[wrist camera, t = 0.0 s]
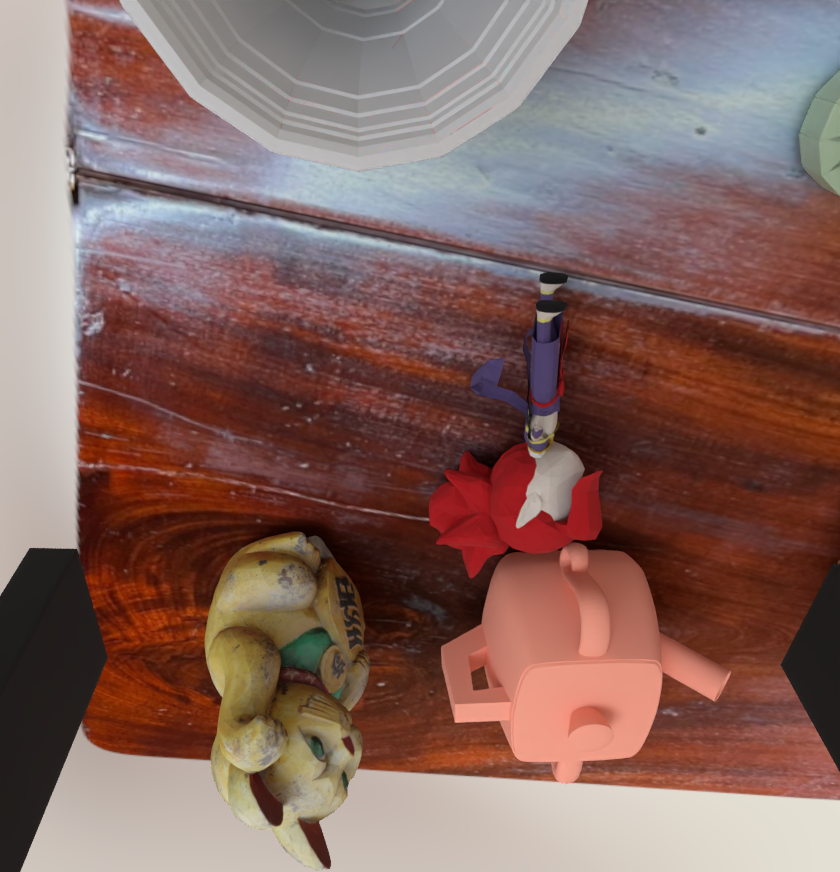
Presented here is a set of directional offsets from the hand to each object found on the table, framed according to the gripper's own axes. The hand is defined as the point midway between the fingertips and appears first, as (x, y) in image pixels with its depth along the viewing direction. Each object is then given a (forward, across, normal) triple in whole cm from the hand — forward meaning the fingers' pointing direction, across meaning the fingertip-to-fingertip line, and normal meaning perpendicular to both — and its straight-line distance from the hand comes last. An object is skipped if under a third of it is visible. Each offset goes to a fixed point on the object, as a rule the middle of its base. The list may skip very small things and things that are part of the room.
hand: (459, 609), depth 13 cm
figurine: (+21, +5, -8) cm, 23 cm away
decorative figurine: (+21, -6, -20) cm, 30 cm away
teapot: (+21, +10, -21) cm, 31 cm away
